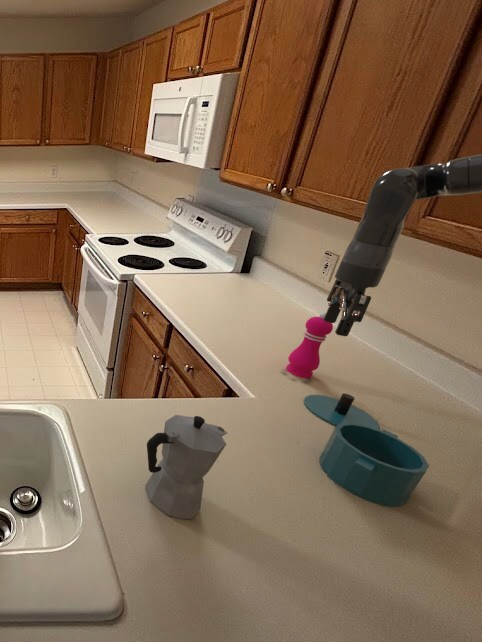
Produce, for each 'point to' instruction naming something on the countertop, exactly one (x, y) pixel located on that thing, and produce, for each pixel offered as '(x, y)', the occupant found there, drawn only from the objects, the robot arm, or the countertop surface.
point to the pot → (372, 464)
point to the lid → (338, 410)
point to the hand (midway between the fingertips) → (334, 328)
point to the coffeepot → (182, 464)
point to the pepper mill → (309, 348)
